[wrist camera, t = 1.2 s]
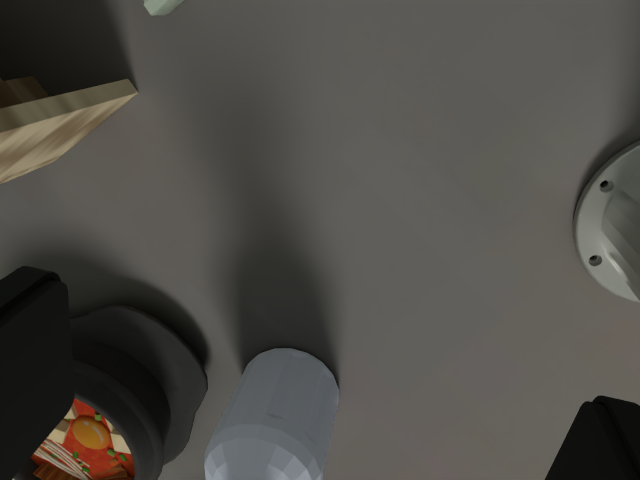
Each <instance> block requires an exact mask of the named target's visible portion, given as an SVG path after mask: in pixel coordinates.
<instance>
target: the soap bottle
mask: <svg viewBox="0 0 640 480" xmlns="http://www.w3.org/2000/svg"><path fill="white" fill-rule="evenodd" d="M338 398H339V389H338V386H337V384H336V381H335V378H334V376H333V374H332V373H331V371H330V370H329V369H328V368H327V367H326V366H325V364H324V363H323V362H322V361H320V360H318V359H317V358H315V357H314V356H312V355H310V354H309V353H306V352H303V351H299V350H296V349H292V348H274V349H271V350H268V351H266V352H263V353H260V354H258V355H257V356H256V357H255V358H254V359H253V360H252V361H250V362H249V363H248V364H247V366H246V368H245V370H244V373H243V375H242V377H241V379H240V381H239V383H238V385H237V387H236V389H235V391H234V393H233V395H232V397H231V399H230V401H229V403H228V405H227V407H226V409H225V411H224V413H223V415H222V417H221V419H220V421H219V423H218V425H217V427H216V429H215V431H214V434H213V436H212V438H211V440H210V442H209V444H208V447H207V449H206V452H205V476H206V480H322V477H323V473H324V468H325V463H326V459H327V454H328V449H329V444H330V440H331V435H332V430H333V426H334V421H335V416H336V412H337V407H338Z"/></svg>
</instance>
